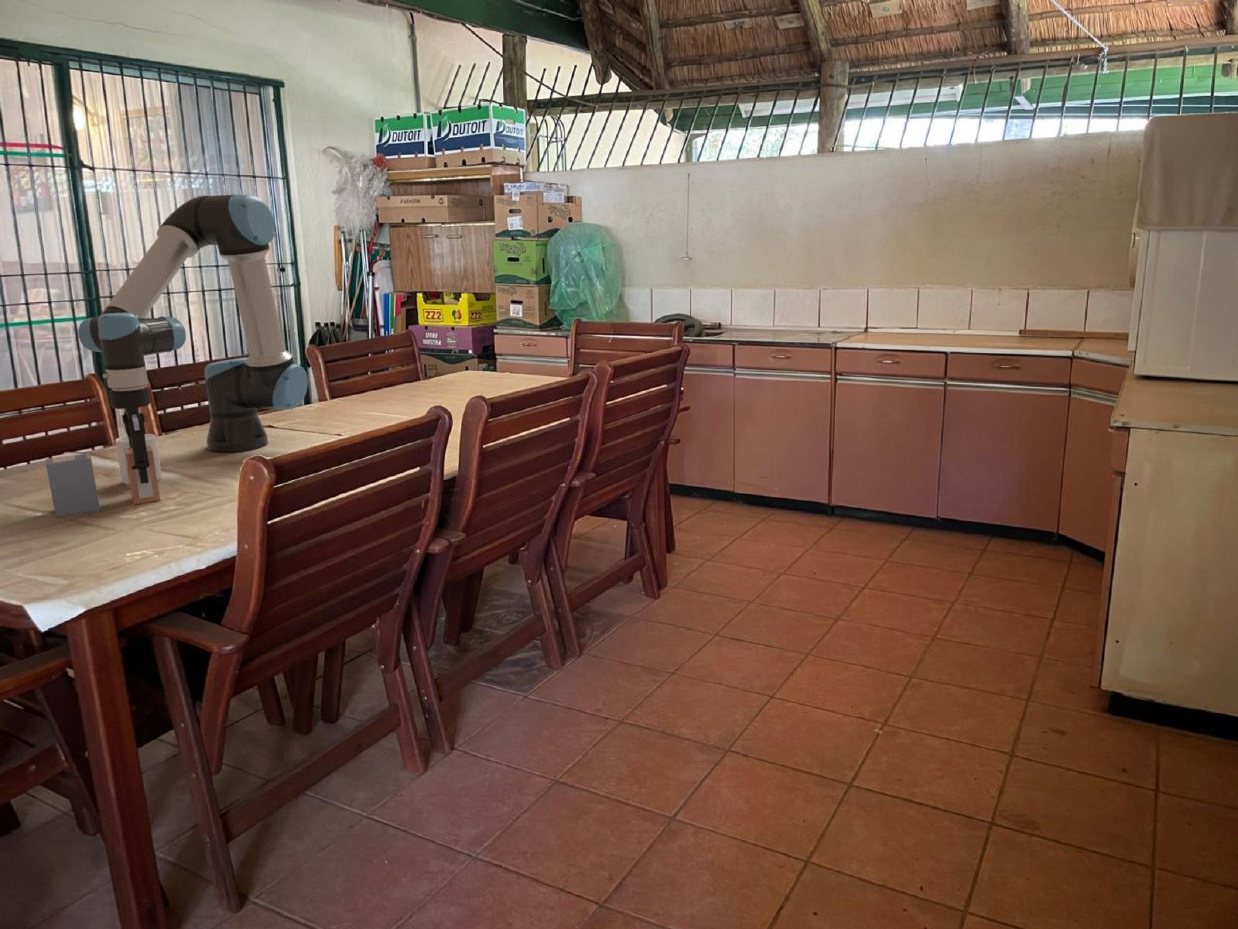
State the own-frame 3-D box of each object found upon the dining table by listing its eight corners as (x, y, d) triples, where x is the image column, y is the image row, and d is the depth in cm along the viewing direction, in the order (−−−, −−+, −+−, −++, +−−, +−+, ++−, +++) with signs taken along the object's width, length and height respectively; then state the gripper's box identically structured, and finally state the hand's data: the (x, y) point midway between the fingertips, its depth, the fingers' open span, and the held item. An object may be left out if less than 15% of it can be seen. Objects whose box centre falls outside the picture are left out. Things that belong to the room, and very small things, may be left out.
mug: (149, 489, 208) (142, 444, 205) (110, 491, 207) (102, 446, 204) (167, 475, 219) (160, 433, 217) (130, 477, 218) (123, 434, 216)
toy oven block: (98, 503, 198) (89, 452, 195) (100, 510, 193) (91, 458, 190) (55, 509, 194) (45, 458, 191) (55, 516, 189) (45, 464, 186)
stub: (157, 493, 204) (149, 444, 201) (160, 500, 199) (152, 449, 196) (131, 497, 201) (123, 447, 198) (134, 504, 196) (126, 453, 193)
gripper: (105, 383, 200) (122, 486, 205) (111, 396, 184) (129, 507, 190) (144, 379, 203) (159, 480, 209) (152, 392, 188) (169, 500, 193)
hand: (145, 493), depth 199 cm, fingers closed on stub, 6 cm apart
